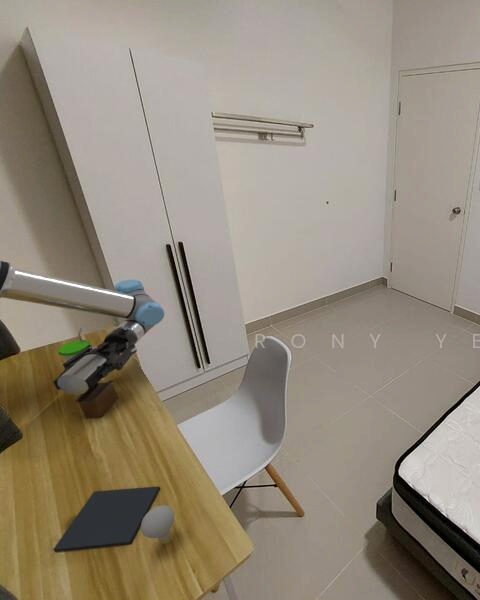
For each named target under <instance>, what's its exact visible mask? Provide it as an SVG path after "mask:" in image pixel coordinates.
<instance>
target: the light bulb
mask: <svg viewBox="0 0 480 600" xmlns="http://www.w3.org/2000/svg"><path fill="white" fill-rule="evenodd" d="M174 522H175V512H174V510H173V508H171V506H168V505H166V504H165V505H158V506H154V507H153V508H152V509H151V508H150V509H149V511H148V513H147V514H146V515H145V516H144V518H143V520H142V523H141V526H140V530H141V533H142V535H143V536H144V537H146V538H148V539H158V541H160V544H162V545H167V544H169V543H170V542H171V541H172V539H173V534H172V530H171V528H172V527H173V525H174Z"/></svg>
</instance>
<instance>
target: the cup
mask: <svg viewBox="0 0 480 600" xmlns="http://www.w3.org/2000/svg"><path fill="white" fill-rule="evenodd" d="M82 330H83V328H82V327H80V328H79V329H78V332H77V338H78V339H77V340H72V341H69V342H67V343H65V344H62V345H61V346H60V347H59V348H58V349H57V350H58V352H57V353H58V354H59V355H60V356H62V357H63V358H64V359H65V362H67V361H68V360H69V359H71V358H72V357H74V356H75V355H77V354H78V353H79V352H81V351H82V350H84V348H85V347H86V346H87V345H91V341H90V340H87V339H83V338H82V336H81V333H82Z"/></svg>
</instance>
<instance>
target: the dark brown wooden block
mask: <svg viewBox="0 0 480 600" xmlns="http://www.w3.org/2000/svg"><path fill="white" fill-rule="evenodd" d="M118 399H119V396H118V393H117V391H116V389H115V387H114V380H113V379H110V380H109V381H107V382H98V383H97V384H96V385H95V386H94V387H93V388H90V389H89V390H88V391H86V392H85V393H83V394H79V395H78V396H77V397H75V399H74V402H75V403H78V405H79V407H80V409H81V411H82V412H83V414H84V416H85V418H86V419H98V418H99V419H101V418H103V417H104V415H105V414H106V413H107V412H108V411H109V410H110V408H111V407H112V406H113V405H114V404H115V403H116V402H117V401H118Z"/></svg>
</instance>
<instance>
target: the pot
mask: <svg viewBox="0 0 480 600" xmlns="http://www.w3.org/2000/svg"><path fill="white" fill-rule="evenodd" d="M108 359H110V358H109V357H108V356H107V355H105V354H103V353H100V352H88V353H86V354H85V355H83V357H82V359H81V360H79V361H78V362H77V363H76V364H75V365H73V366H72V367H71V368H70V369H69V370H68V371H66V372H65V373H64V374H63V375H62V376H61V377H59V376H58V377H59V379H58V380H57V384H58V386H59V387H60V388H61V389H60V390H62V391H64V392H65V393H66V394H70V395H76V396H77V395H78V396H79V395H80V394H83V393H85V392H86V391H88V390H89V389H90V388H89V387H88V385H87V383H86V380H87V379H88V378H89V377H90V376H91V375H92V374H93V373H94V372H95V371H96V370H97V369H98V368H99V367H100V366H101V365H105V367H106V364H105V363H106V362H107V360H108Z"/></svg>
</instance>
